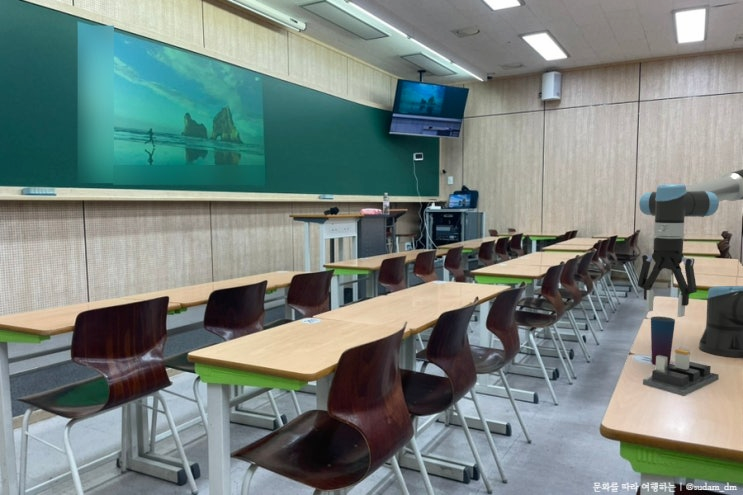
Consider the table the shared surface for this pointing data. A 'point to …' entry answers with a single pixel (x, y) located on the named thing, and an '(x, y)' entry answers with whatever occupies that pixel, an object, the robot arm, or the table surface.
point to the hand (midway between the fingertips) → (664, 313)
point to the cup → (661, 337)
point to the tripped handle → (682, 359)
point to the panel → (678, 389)
